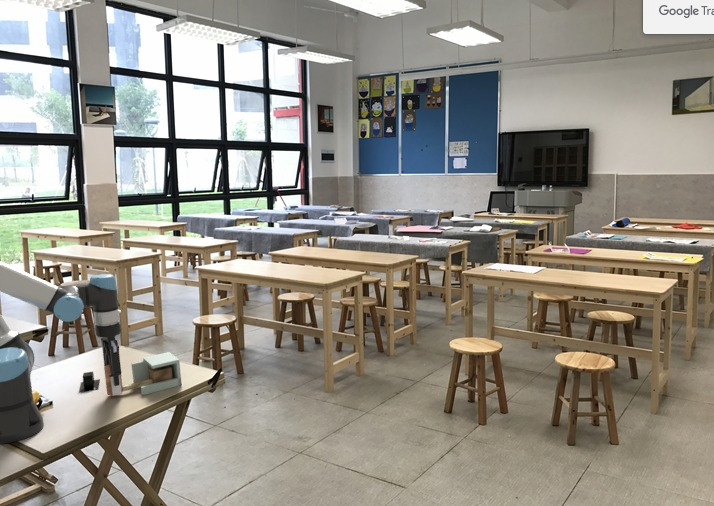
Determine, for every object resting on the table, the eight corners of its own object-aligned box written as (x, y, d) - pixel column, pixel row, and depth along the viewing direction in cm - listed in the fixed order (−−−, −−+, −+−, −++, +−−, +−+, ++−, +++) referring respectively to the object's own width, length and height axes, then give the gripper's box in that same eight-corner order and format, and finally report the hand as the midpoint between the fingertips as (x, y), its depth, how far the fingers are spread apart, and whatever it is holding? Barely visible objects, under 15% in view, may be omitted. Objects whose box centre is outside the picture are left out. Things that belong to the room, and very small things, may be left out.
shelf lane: (142, 395, 196) (139, 368, 194) (133, 385, 204) (131, 360, 203) (181, 384, 203) (179, 359, 202) (171, 376, 211) (169, 351, 210)
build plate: (100, 392, 201) (98, 378, 200) (75, 396, 199) (73, 382, 198) (102, 379, 213) (100, 365, 212) (78, 382, 211) (76, 369, 210)
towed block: (109, 397, 192) (106, 370, 190) (105, 391, 197) (102, 365, 195) (172, 381, 203) (170, 356, 202) (167, 376, 208) (164, 352, 207)
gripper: (127, 326, 187) (134, 397, 191) (113, 315, 201) (120, 381, 205) (101, 331, 183) (109, 403, 186) (89, 319, 197) (96, 386, 201)
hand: (115, 391), depth 196 cm, fingers closed on towed block, 5 cm apart
